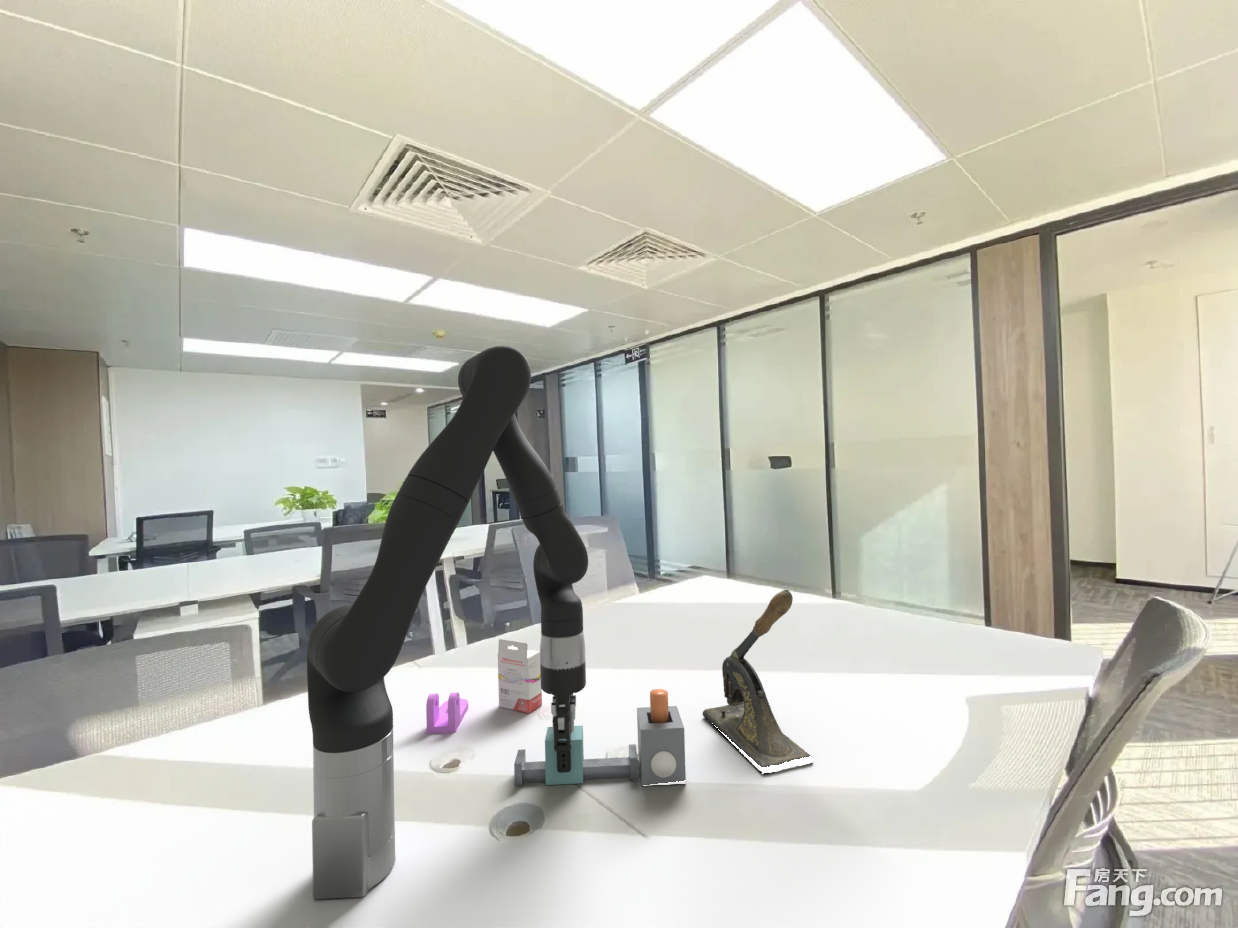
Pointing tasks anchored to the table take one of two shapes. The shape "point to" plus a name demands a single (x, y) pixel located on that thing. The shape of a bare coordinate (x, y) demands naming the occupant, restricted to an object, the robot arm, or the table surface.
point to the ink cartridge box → (519, 677)
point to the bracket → (445, 713)
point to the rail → (590, 768)
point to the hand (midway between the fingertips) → (565, 761)
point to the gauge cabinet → (661, 747)
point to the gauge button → (659, 706)
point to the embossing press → (753, 699)
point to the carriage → (576, 759)
